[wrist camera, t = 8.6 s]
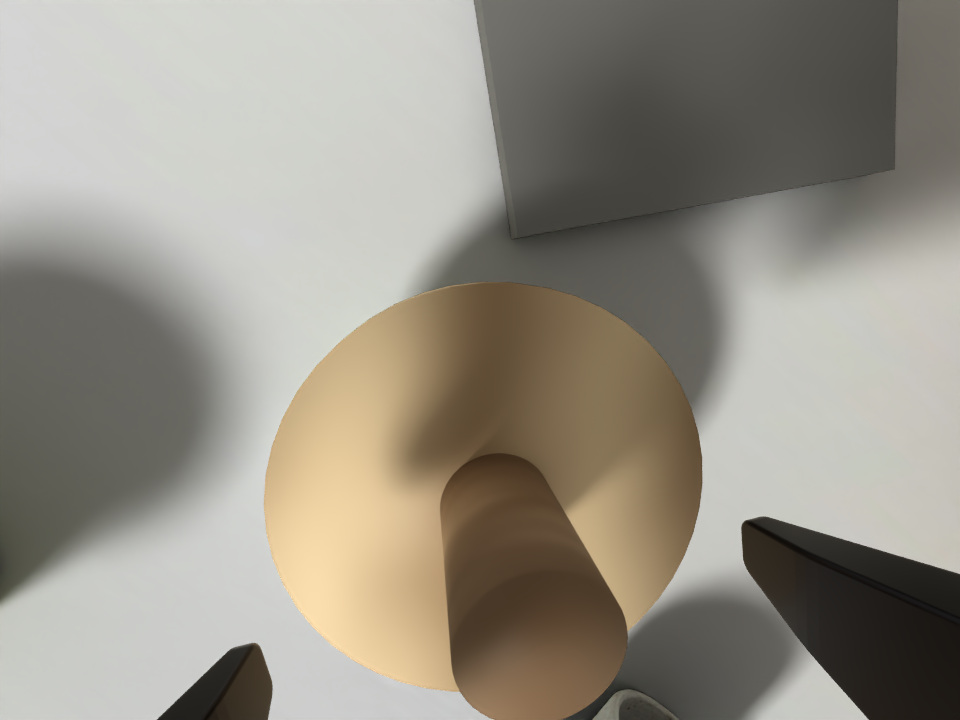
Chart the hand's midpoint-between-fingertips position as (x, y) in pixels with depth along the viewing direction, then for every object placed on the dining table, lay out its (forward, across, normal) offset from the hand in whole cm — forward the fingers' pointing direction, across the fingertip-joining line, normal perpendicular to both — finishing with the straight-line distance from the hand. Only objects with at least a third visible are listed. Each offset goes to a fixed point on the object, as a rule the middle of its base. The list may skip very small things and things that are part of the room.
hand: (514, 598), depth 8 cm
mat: (+8, -9, -13) cm, 18 cm away
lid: (+4, 0, 0) cm, 4 cm away
